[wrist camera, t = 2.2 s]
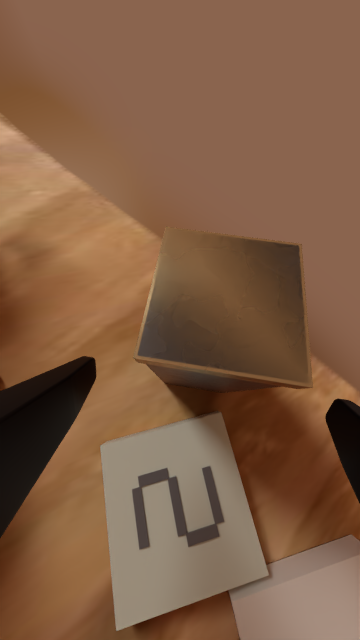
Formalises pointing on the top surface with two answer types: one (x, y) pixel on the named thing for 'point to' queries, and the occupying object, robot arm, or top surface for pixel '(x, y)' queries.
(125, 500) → the tile
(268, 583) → the tile
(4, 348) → the top surface
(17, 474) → the robot arm
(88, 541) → the top surface
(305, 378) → the tea tin
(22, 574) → the top surface
